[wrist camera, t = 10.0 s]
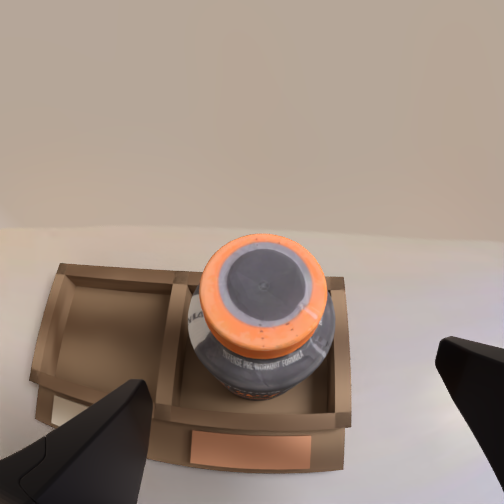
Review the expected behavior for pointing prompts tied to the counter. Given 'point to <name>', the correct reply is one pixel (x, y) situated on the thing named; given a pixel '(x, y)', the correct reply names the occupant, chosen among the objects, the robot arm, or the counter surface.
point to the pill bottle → (261, 316)
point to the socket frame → (183, 375)
